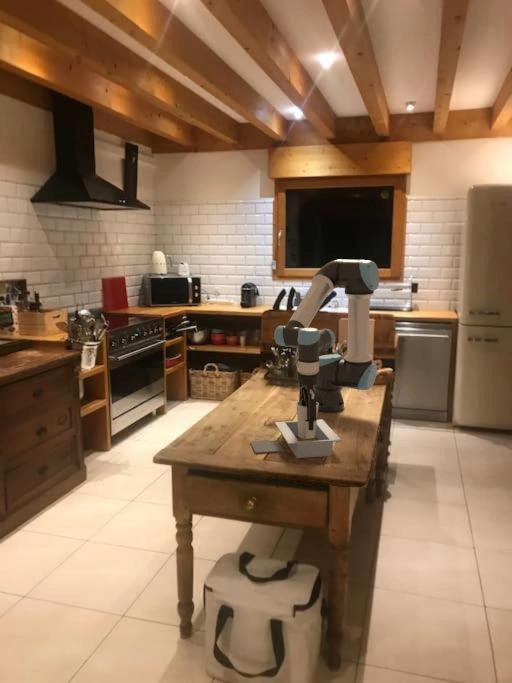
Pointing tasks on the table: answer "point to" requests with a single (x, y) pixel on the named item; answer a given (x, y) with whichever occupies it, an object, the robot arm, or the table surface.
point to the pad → (266, 447)
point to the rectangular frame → (309, 447)
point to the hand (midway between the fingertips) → (306, 433)
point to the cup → (302, 417)
